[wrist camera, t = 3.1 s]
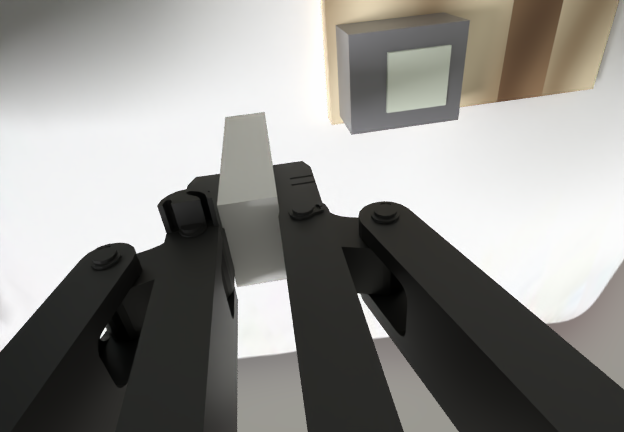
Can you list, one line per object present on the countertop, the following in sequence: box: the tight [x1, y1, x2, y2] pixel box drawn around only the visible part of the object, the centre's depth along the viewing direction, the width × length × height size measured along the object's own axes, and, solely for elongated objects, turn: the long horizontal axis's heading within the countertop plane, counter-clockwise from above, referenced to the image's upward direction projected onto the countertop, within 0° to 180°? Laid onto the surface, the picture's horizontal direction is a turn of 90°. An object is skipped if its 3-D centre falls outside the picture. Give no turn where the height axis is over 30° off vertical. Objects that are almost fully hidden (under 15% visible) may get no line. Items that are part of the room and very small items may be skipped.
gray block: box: [336, 12, 470, 135], centre depth 22 cm, size 6×5×3 cm
